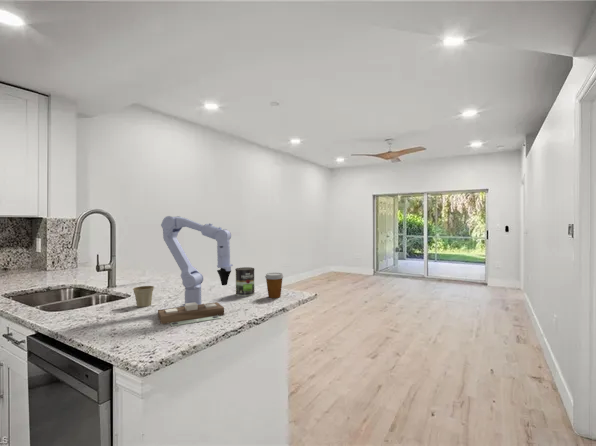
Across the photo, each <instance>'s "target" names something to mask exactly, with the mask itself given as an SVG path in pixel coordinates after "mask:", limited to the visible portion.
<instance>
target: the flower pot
mask: <svg viewBox="0 0 596 446" xmlns="http://www.w3.org/2000/svg"><path fill="white" fill-rule="evenodd" d="M154 289H155V286H154V285H143V286H136V287H133V288H132V290H133V293H134V296H135V302H136V307H138V308H146V307H149V306H151V305H152V300H153V294H154V293H153V292H154Z"/></svg>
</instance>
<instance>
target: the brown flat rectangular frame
mask: <svg viewBox="0 0 596 446" xmlns="http://www.w3.org/2000/svg"><path fill="white" fill-rule="evenodd" d="M211 303H212V302H209V303H208V302H207V303H206V304H211ZM213 303H214V304H216V305H217V307H212V308H205V307H204V304H205V303H201V304H200V305H198V309H197V310H190V311H186V310H185V307H184V306H179V307H172V308H171V307H170V308H168V309H174V308H176V309H177V310H178V312H176V313H169V314H165V310H166V309H167V308H163V309H158V310H157V318H158V320H159V322H160V324H161V325H164V324H170V323H172V322H179V321H185V320H192V319H198V318H205V317H211V316H224V315H225V307H224V306H223V305H222V304H220V303H219V302H213Z"/></svg>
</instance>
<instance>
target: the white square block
mask: <svg viewBox="0 0 596 446" xmlns="http://www.w3.org/2000/svg"><path fill="white" fill-rule="evenodd" d="M210 303H211V304H207V303H203V304H204V307H205V308H212V307H217V305H216V304H214V303H215V302H210Z"/></svg>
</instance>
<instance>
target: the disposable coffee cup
mask: <svg viewBox="0 0 596 446" xmlns="http://www.w3.org/2000/svg"><path fill="white" fill-rule="evenodd" d="M264 277H265V279H266V280H265V281H266V287H267V295H268V298H270V299H279V298H281V296H282V295H281V294H282V287H283V286H282V285H283V278H284V275H283V273H281V272H268V273H265V276H264Z"/></svg>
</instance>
